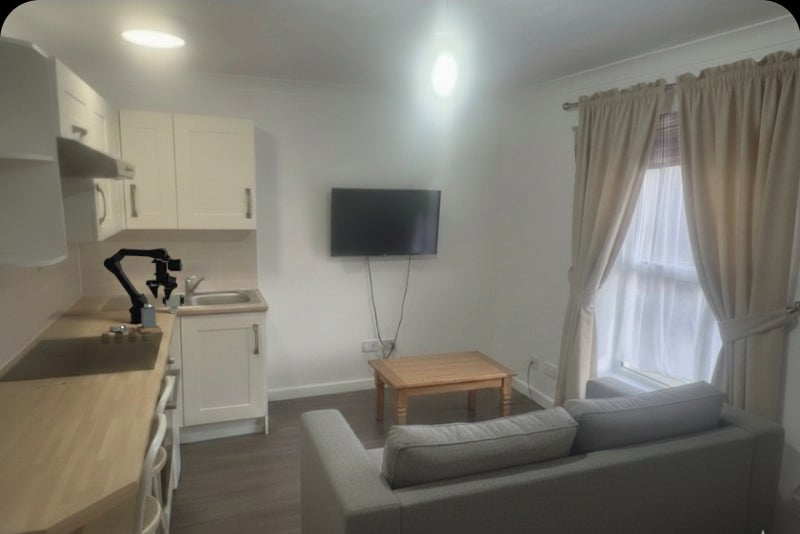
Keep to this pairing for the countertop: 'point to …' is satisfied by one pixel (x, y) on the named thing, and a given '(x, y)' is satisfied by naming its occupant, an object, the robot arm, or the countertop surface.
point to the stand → (149, 329)
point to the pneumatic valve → (174, 302)
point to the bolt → (118, 329)
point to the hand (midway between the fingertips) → (161, 299)
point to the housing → (148, 316)
